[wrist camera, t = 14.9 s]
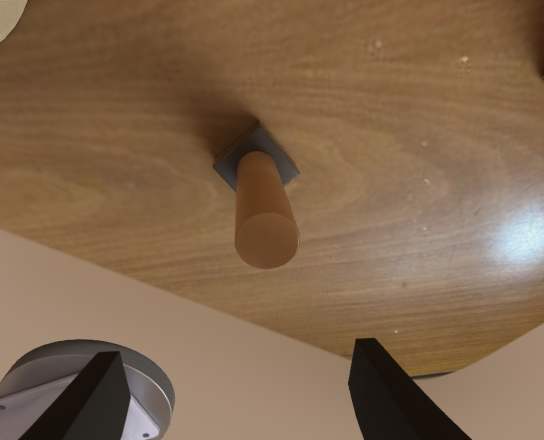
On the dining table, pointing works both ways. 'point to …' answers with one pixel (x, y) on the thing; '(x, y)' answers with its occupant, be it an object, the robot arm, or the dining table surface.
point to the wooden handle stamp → (261, 197)
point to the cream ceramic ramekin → (10, 15)
